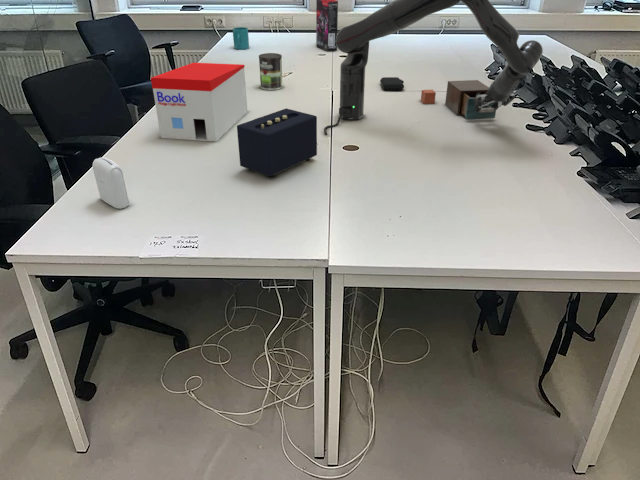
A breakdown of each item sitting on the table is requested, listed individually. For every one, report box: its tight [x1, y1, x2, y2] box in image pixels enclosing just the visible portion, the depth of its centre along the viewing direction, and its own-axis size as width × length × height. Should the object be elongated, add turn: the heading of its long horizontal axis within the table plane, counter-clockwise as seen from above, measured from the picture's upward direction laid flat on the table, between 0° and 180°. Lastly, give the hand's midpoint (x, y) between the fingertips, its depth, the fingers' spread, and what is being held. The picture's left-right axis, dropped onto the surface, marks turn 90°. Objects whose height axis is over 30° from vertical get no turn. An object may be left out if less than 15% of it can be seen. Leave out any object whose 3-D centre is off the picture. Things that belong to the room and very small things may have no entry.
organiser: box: [444, 79, 490, 116], centre depth 211 cm, size 15×13×10 cm
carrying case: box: [379, 76, 405, 91], centre depth 242 cm, size 11×3×15 cm
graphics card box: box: [315, 0, 339, 52], centre depth 310 cm, size 17×7×27 cm, turn 25°
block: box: [420, 89, 437, 105], centre depth 221 cm, size 5×5×5 cm
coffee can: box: [258, 52, 284, 91], centre depth 239 cm, size 10×10×14 cm
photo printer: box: [92, 157, 130, 210], centre depth 140 cm, size 10×4×12 cm, turn 47°
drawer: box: [460, 92, 497, 120], centre depth 202 cm, size 18×11×8 cm, turn 7°
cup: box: [232, 26, 250, 51], centre depth 315 cm, size 9×12×11 cm
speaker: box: [236, 108, 318, 178], centre depth 161 cm, size 22×13×15 cm, turn 141°
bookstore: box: [150, 62, 248, 143], centre depth 193 cm, size 21×35×21 cm, turn 169°
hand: (485, 109), depth 196 cm, fingers closed on drawer, 5 cm apart
